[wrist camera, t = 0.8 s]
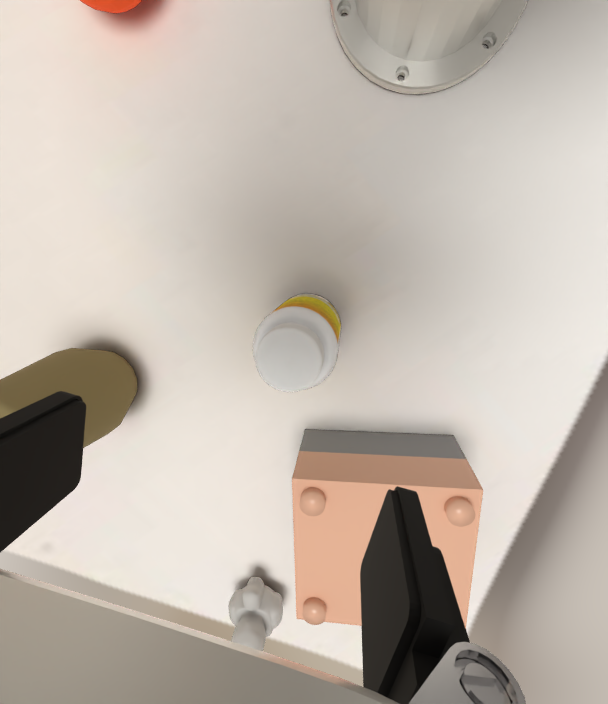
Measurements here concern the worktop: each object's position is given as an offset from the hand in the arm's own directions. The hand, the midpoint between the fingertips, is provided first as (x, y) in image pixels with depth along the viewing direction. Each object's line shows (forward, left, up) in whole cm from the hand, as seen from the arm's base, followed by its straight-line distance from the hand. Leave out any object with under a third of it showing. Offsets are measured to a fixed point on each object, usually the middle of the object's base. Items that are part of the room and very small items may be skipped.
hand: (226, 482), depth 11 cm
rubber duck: (+29, +2, -22) cm, 36 cm away
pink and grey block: (+14, +10, -21) cm, 27 cm away
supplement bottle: (0, 0, -22) cm, 21 cm away
